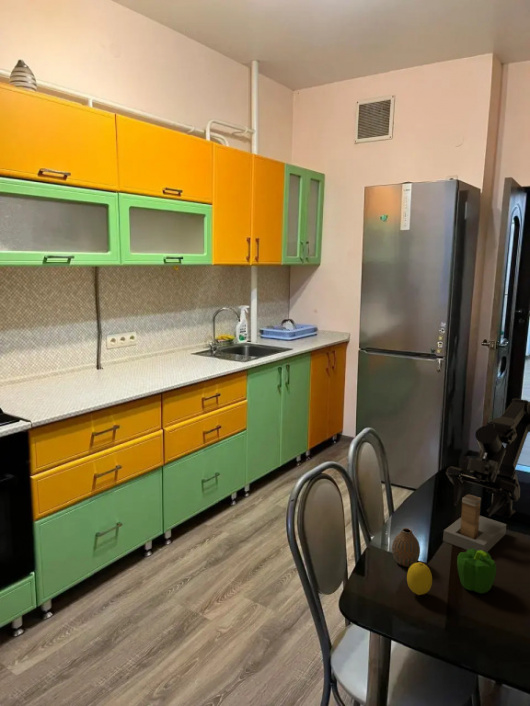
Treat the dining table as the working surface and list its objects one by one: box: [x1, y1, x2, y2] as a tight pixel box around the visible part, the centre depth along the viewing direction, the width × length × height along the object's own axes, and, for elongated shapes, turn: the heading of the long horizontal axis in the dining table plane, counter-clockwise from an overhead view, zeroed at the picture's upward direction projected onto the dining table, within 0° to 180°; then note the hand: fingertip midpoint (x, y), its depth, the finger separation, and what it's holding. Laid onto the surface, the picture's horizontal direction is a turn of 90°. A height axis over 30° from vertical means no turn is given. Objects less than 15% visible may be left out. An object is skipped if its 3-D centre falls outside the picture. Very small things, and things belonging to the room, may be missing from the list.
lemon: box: [406, 561, 433, 596], centre depth 118 cm, size 6×6×8 cm
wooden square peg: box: [460, 493, 482, 540], centre depth 141 cm, size 4×4×13 cm
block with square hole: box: [442, 515, 507, 553], centre depth 145 cm, size 16×11×3 cm
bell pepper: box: [456, 548, 497, 594], centre depth 121 cm, size 8×8×10 cm
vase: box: [391, 527, 421, 568], centre depth 132 cm, size 7×7×9 cm
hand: (471, 510), depth 141 cm, fingers open, 9 cm apart
